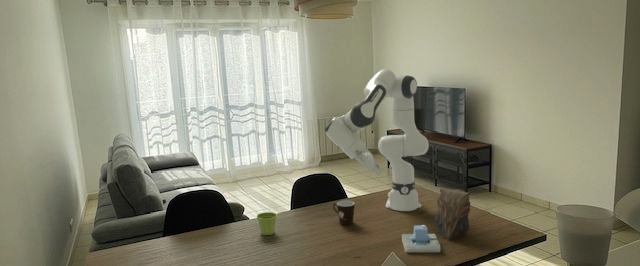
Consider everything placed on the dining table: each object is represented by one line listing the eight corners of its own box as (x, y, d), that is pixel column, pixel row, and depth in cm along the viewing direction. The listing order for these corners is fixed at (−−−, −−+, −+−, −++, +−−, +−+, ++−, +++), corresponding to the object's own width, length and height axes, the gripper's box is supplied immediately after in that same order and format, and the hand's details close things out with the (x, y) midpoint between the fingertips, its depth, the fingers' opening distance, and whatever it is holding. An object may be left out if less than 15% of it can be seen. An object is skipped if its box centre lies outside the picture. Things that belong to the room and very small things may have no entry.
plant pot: (265, 228, 213) (264, 210, 212) (281, 231, 208) (280, 213, 207) (253, 234, 205) (252, 217, 204) (269, 238, 200) (268, 220, 199)
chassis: (402, 240, 193) (402, 234, 192) (434, 240, 192) (434, 233, 191) (405, 252, 181) (405, 245, 180) (440, 252, 180) (440, 245, 179)
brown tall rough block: (433, 230, 203) (434, 188, 200) (458, 227, 206) (459, 185, 202) (446, 240, 191) (447, 196, 188) (473, 237, 193) (474, 193, 190)
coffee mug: (358, 224, 213) (357, 204, 212) (341, 227, 210) (341, 207, 208) (347, 217, 224) (347, 198, 222) (332, 219, 221) (331, 200, 219)
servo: (410, 243, 189) (410, 223, 187) (428, 243, 188) (428, 223, 187) (412, 247, 184) (412, 227, 183) (430, 247, 184) (430, 227, 182)
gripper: (361, 148, 176) (386, 171, 177) (360, 139, 197) (382, 160, 198) (350, 159, 178) (375, 182, 178) (350, 149, 198) (372, 170, 199)
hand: (379, 171), depth 188 cm, fingers open, 8 cm apart
